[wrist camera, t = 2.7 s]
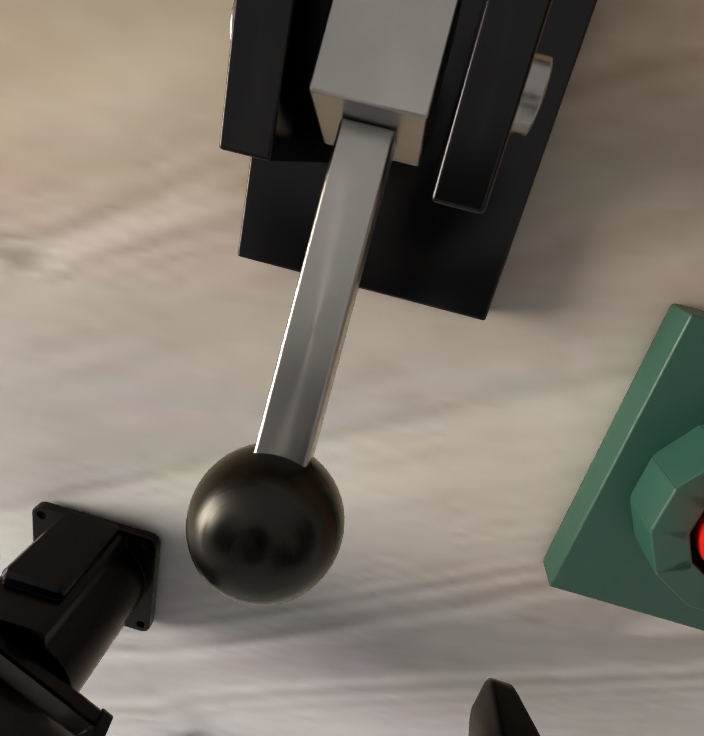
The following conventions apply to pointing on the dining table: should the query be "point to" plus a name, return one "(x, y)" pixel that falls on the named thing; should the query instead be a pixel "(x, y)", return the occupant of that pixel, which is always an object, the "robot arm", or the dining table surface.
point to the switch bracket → (405, 182)
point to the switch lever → (323, 302)
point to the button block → (645, 489)
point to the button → (700, 537)
